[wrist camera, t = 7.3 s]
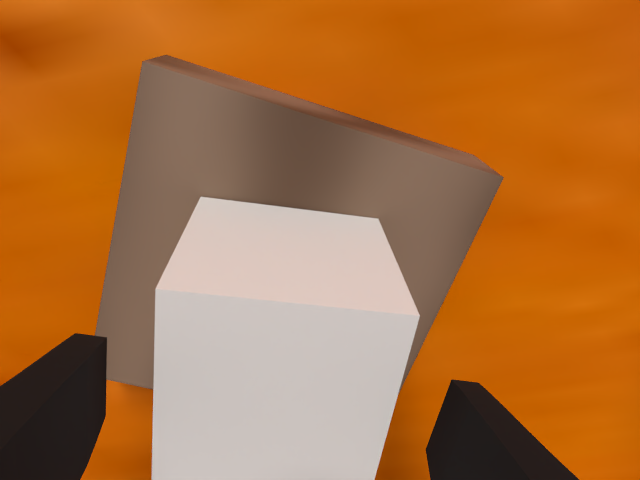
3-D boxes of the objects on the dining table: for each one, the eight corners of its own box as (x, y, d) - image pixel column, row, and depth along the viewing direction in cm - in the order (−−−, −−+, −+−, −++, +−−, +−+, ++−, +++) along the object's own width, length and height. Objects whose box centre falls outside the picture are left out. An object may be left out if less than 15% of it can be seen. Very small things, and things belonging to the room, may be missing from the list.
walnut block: (468, 151, 17) (503, 177, 14) (365, 380, 20) (377, 436, 18) (170, 53, 15) (142, 61, 12) (118, 323, 19) (88, 375, 16)
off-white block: (378, 218, 14) (420, 315, 10) (347, 359, 16) (369, 494, 12) (200, 196, 14) (155, 288, 9) (192, 345, 16) (151, 481, 11)
